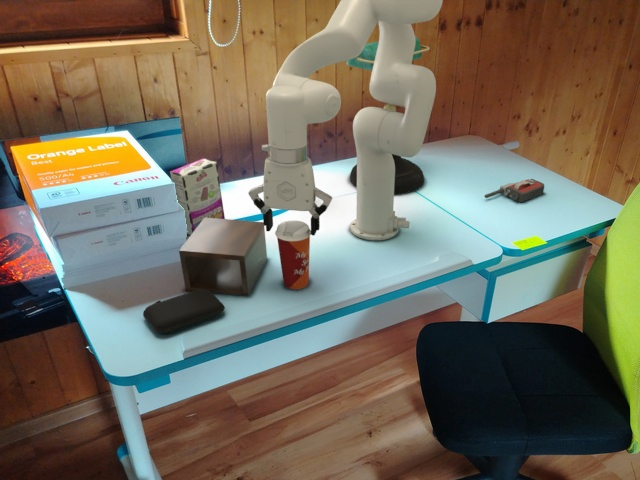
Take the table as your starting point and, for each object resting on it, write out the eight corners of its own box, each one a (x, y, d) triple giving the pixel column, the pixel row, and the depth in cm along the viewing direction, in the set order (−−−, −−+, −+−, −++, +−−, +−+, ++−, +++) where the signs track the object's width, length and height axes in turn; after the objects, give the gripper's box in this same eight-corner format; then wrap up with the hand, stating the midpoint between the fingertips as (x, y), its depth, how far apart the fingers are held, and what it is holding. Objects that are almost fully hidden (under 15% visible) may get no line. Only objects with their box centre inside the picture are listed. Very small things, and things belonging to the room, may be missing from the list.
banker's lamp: (383, 158, 207) (387, 27, 184) (441, 177, 196) (453, 40, 173) (330, 182, 189) (327, 40, 166) (391, 204, 178) (397, 55, 155)
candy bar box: (212, 216, 167) (203, 157, 157) (225, 221, 165) (218, 161, 155) (179, 232, 159) (168, 170, 149) (193, 237, 157) (183, 175, 147)
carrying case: (206, 293, 137) (139, 315, 129) (204, 281, 135) (136, 303, 127) (228, 315, 130) (159, 340, 122) (227, 303, 128) (156, 328, 120)
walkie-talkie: (524, 183, 195) (481, 199, 184) (526, 170, 193) (483, 185, 181) (547, 193, 190) (504, 210, 179) (549, 179, 187) (506, 195, 176)
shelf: (267, 259, 150) (264, 222, 144) (248, 296, 137) (244, 256, 131) (209, 255, 150) (204, 217, 144) (185, 290, 137) (178, 250, 131)
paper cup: (307, 294, 138) (304, 237, 130) (274, 289, 139) (269, 232, 131) (317, 276, 145) (315, 221, 136) (286, 271, 146) (282, 217, 137)
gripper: (240, 155, 121) (247, 234, 131) (328, 163, 121) (328, 242, 130) (250, 143, 128) (256, 219, 137) (334, 150, 127) (334, 226, 137)
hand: (291, 230), depth 134 cm, fingers open, 9 cm apart
